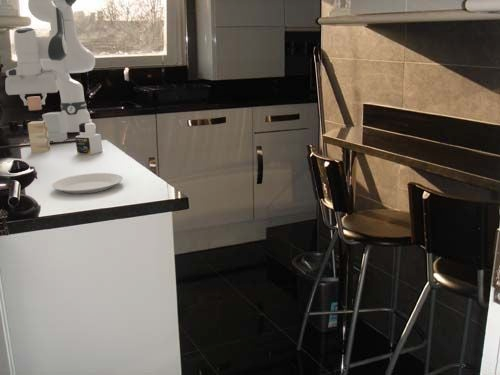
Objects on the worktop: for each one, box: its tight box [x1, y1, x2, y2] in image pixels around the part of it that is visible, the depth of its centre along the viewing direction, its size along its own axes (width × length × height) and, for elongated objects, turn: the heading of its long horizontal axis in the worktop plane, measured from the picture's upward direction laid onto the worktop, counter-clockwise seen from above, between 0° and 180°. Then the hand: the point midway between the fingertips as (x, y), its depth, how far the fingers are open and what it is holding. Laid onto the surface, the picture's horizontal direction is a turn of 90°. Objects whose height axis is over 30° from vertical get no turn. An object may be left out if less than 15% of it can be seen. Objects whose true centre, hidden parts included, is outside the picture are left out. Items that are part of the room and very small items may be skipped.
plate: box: [51, 172, 124, 195], centre depth 179 cm, size 21×21×2 cm
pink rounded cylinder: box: [26, 95, 43, 111], centre depth 238 cm, size 5×5×5 cm
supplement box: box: [41, 111, 68, 143], centre depth 264 cm, size 7×7×13 cm
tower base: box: [29, 140, 51, 154], centre depth 242 cm, size 6×6×4 cm
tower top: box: [27, 120, 48, 134], centre depth 240 cm, size 6×6×4 cm
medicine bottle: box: [74, 121, 103, 156], centre depth 232 cm, size 7×7×12 cm
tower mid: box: [28, 130, 49, 144], centre depth 241 cm, size 6×6×4 cm
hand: (34, 105), depth 238 cm, fingers closed on pink rounded cylinder, 5 cm apart
